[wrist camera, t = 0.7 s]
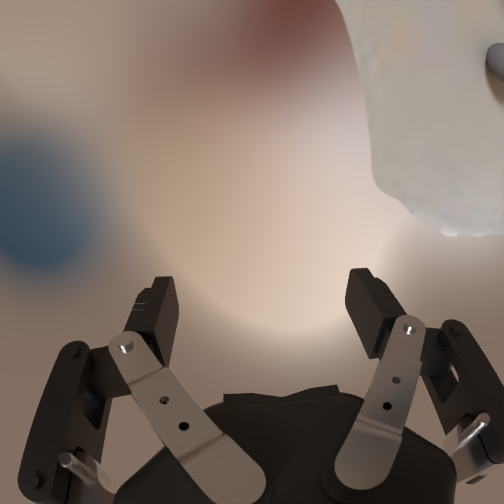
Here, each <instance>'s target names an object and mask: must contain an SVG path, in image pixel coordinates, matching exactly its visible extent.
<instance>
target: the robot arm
mask: <svg viewBox="0 0 504 504" xmlns="http://www.w3.org/2000/svg"><path fill="white" fill-rule="evenodd" d="M345 305H346V309H347V311H348V313H349V315H350V317H351V320H352V322H353V324H354V326H355V328H356V331H357V333H358V335H359V337H360V339H361V342H362V344H363V346H364V348H365V351H366V353H367V355H368V357H369V359H374V358H379V360H380V362H379V365H378V367H377V369H376V372H375V375H374V377H373V379H372V382H371V384H370V386H369V388H368V391H367V393H366V395H365V397H364V399H363V398H360V397H358V396H356V395H352V394H348V393H342V392H339V390H338V386H337V385H330V386H324V387H315V388H310V389H306V390H304V391H301V392H298V393H294V394H291V395H288V396H285V397H277V396H276V397H275V396H269V395H262V394H255V393H243V394H224V398H223V402H221V403H218V404H215V405H212V406H210V407H208V408H206V409H204V410H202V409H201V408H200V407H199V406H198V404H197V403H196V402H195V401H194V400H193V398H192V397H191V396H190V395H189V394H188V392H187V391H186V390H185V389H184V388H183V386H182V385H181V384H180V383H179V381H178V380H177V379H176V377H175V376H174V375H173V374H172V372H171V371H170V370H169V369H168V367H169V362H170V357H171V352H172V347H173V342H174V336H175V332H176V327H177V322H178V317H179V305H178V300H177V295H176V290H175V285H174V280H173V277H172V276H169V277H168V276H166V277H155V279H154V282H153V285H152V287H151V288H145V289H144V290H143V291H142V292H141V293H139V294H138V296H137V298H136V301H135V304H134V306H133V308H132V311H131V313H130V316H129V318H128V321H127V323H126V326H125V328H124V331H123V332H121V333H119V334H117V335H115V336H114V337H113V338H112V339H111V340H110V342H109V345H108V346H105V347H101V348H95V349H90V348H89V346H88V345H87V344H86V343H85V342H83V341H73V342H70V343H68V344H66V345H65V346H64V347H63V348H62V349H61V351H60V353H59V355H58V357H57V360H56V362H55V364H54V366H53V369H52V372H51V374H50V376H49V379H48V381H47V384H46V386H45V389H44V392H43V394H42V397H41V400H40V403H39V405H38V408H37V411H36V414H35V417H34V420H33V423H32V426H31V429H30V433H29V436H28V439H27V443H26V446H25V450H24V453H23V457H22V461H21V465H20V470H19V474H18V486H19V488H20V491H21V492H22V494H23V495H24V496H25V497H26V498H27V499H29V500H31V501H33V502H35V503H37V504H454V496H455V489H456V486H458V485H461V484H463V483H467V484H474V483H476V482H478V481H479V480H481V479H483V478H484V477H486V476H487V475H488V474H490V473H491V472H493V471H494V470H495V469H497V468H498V467H500V466H501V465H502V464H504V386H503V384H502V383H501V381H500V379H499V377H498V376H497V374H496V372H495V371H494V369H493V367H492V366H491V364H490V362H489V361H488V359H487V357H486V356H485V354H484V353H483V351H482V350H481V348H480V346H479V345H478V343H477V342H476V340H475V339H474V337H473V336H472V334H471V333H470V331H469V330H468V328H467V327H466V326H465V325H464V324H463V323H461V322H459V321H457V320H453V319H451V320H446V321H445V322H444V323H443V324H442V327H441V329H437V328H426V327H425V325H424V323H423V322H422V321H421V320H420V319H418V318H416V317H414V316H411V315H407V314H406V312H405V311H404V309H403V308H402V306H401V305H400V303H399V302H398V300H397V299H396V298H395V297H394V295H393V293H392V292H391V291H390V289H389V287H388V286H387V284H386V283H384V282H383V281H382V280H380V279H379V278H374V276H373V275H372V274H371V272H370V271H369V269H368V268H356V269H351V271H350V274H349V279H348V285H347V290H346V296H345ZM452 366H453V367H454V368H455V370H456V372H457V374H458V377H459V382H457V380H456V378H455V376H454V374H453V372H452V370H451V367H452ZM419 376H422V379H423V381H424V383H425V385H426V388H427V390H428V392H429V395H430V397H431V399H432V402H433V404H434V407H435V409H436V412H437V414H438V417H439V419H440V422H441V424H442V427H443V429H444V432H445V435H446V437H445V439H444V443H443V447H444V450H442V449H440V448H438V447H437V446H436V445H434V444H432V443H431V442H429V441H427V440H426V439H424V438H422V437H421V436H420V435H418V434H416V433H415V432H413V431H412V430H410V429H408V428H407V427H405V422H406V420H407V417H408V414H409V410H410V407H411V404H412V400H413V396H414V393H415V390H416V386H417V382H418V378H419ZM130 394H131V395H132V396H133V398H134V400H135V401H136V403H137V405H138V406H139V408H140V410H141V411H142V413H143V414H144V416H145V417H146V419H147V421H148V422H149V424H150V425H151V427H152V428H153V430H154V432H155V433H156V435H157V436H158V437H159V439H160V441H161V442H162V443H163V445H164V447H163V448H162V449H161V450H160V451H159V452H158V453H157V454H155V456H153V457H152V458H151V459H150V460H149V461H148V462H147V463H146V464H145V465H144V466H143V467H142V468H140V469H139V470H138V471H137V472H136V473H135V474H134V475H133V476H132V477H130V478H129V479H128V480H127V481H126V482H125V483H124V484H123V485H122V486H121V487H120V488H119V489H118V491H117V492H116V494H114V492H113V490H112V488H111V480H110V475H109V473H108V472H107V470H106V469H105V468H104V467H103V466H101V465H100V464H101V456H102V451H103V444H104V439H105V433H106V428H107V423H108V418H109V413H110V408H111V403H112V398H114V397H119V396H125V395H130Z"/></svg>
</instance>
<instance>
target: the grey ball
mask: <svg viewBox="0 0 504 504" xmlns="http://www.w3.org/2000/svg"><path fill="white" fill-rule="evenodd" d="M487 63H488V66H489V68H490V70H491V72H492V73H493V74H494V75H495V76H496V77H497V78H498V79H499V80H501V81H503V82H504V44H503V43H496V44H493V45H492V46H490V48H489V49H488V51H487Z"/></svg>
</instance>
